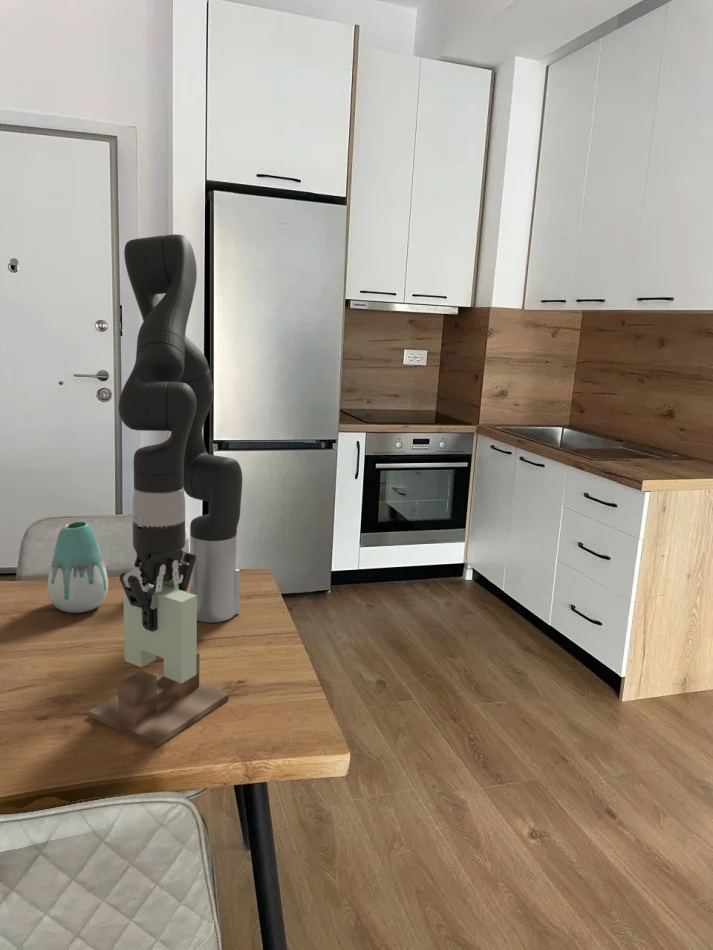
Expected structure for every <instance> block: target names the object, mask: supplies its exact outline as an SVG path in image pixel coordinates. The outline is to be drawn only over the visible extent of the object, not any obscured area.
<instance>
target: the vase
mask: <svg viewBox="0 0 713 950" xmlns="http://www.w3.org/2000/svg"><path fill="white" fill-rule="evenodd" d="M55 541H56V542H55V548H54V551H53V556H52V559H51V562H50V563H51V564H50V568H49V572H48V579H47V587H46V588H47V595H48V597H49V599H50V601H51V603H52V604H53V606H54V607H55V608H57V609H58V610H60V611H62V612H64V613H69V614H70V613H71V614H81V613H85V612H90V611H92V610H94V609H96V608H98V607H99V606H100V605H101V604H102V603H103V602H104V600H105V599H106V596H107V594H108V590H109V577H108V572H107V569H106V565H105V561H104V559H103V556H102V553H101V549H100V546H99V542H98V538H97V536H96V533H95V531H94V529H93V528H92V526H91V525H90V523H89V522H88V521H87V520H75V521H72V522H69V523H66V524H65V525H63V527H61V528H60V531H59V532H58V535H57V538H56V540H55Z"/></svg>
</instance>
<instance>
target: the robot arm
mask: <svg viewBox="0 0 713 950" xmlns="http://www.w3.org/2000/svg"><path fill="white" fill-rule="evenodd" d="M123 251H124V253H123V255H124V263H125V269H126V272H127V275H128V276H127V277H128V280H129V281H130V282H129V283H130V285H131V289H132V292H133V295H134V297H135V301H136V303H137V306H138V309H139V313H140V314H141V318H142V320H143V321H142V323H141V324H140V325H141V326H140V328H139V330H138V335H137V340H136V351H135V352H136V356H135V363H134V365H133V368H132V370H131V373H130V375H129V376H128V378H127V380H126V382H125V384H124V386H123V388H122V390H121V393H120V396H119V401H118V413H119V418H120V419H121V421H122V423H123V424H124V425H125V426H126V427H127V428H129V429H130V430H133V431H143V432H144V431H146V432H147V431H149V432H150V431H151V432H156V431H158V432H167V431H168V432H170V436H169V437H168V438H167V439H166V440H165V441H163V442H161V443H157V444H151V445H146V446H143V447H140V448H138V449H137V450H136V451H135V452H134V454H133V493H132V494H133V496H132V512H131V513H132V547H133V549H134V551H135V553H136V558H135V561H134V565H133V568H132V569H131V570H130V571H129V572H127V573H125V572H122V573H120V575H119V580H120V583H121V586H122V589H123V588H124V591H125V593H126V595H127V598H128V600H129V602H130V605H132V606H136V607H139V608H141V609H142V625H143V627H144V628H145V629H146V630H149V631H152V632H154V631H156V630H157V629H158V621H157V608H156V606H157V600H158V594H159V593H161V590H162V585H165V586H169V587H170V588H175V589H178V590H181V591H185V592H187V591H188V588H189V593H191V594H194V595H197V621H198V622H202V623H220V622H225V621H228V620H230V619H232V618H233V617H235V616H236V615H238V614H240V607H241V606H240V604H241V601H240V599H241V594H240V593H241V570H240V569H239V568H237V551H238V549H237V543H238V541H237V539H238V526H239V522H240V518H241V517H240V516H241V507H242V506H241V504H242V493H243V492H242V491H243V472H242V467H241V465H240V463H239V462H238V460H236V459H234V458H232V457H228V456H220V455H215V454H209V453H208V452H207V451H208V450H207V449H206V445H205V441H204V435H203V428H204V424H205V421H206V419H207V417H208V414H209V412H210V409H211V407H212V404H213V401H214V396H215V395H214V394H215V393H214V385H213V380H212V377H211V373H210V372H211V371H210V367H209V363H208V360H207V358H206V356H205V355H204V353H203V352H202V350H201V349H200V348H199V347H198V346H197V345H196V344H195V343H194V342H193V341H192V340H191V339H190V338H189V337H188V336H187V335H186V332H187V331H186V330H187V325H188V322H189V321H188V320H189V317H190V313H191V308H192V304H193V301H194V300H193V299H194V294H195V290H196V286H197V276H198V274H197V271H198V270H197V261H196V257H195V256H196V255H195V253H194V249H193V246H192V244H191V242H190V240H189V238H188V237H186V236H185V235H182V234H174V233H173V234H164V235H157V236H148V237H142V238H141V237H140V238H134V239H130V240H128V241H127V242H126V243H125V245H124V250H123ZM163 294H164V295H163ZM158 295H163V297H162V298H161V299H159V296H158ZM185 493H186V495H188V497H190V498H192V499H195V500H200V501H204V502H209V503H210V504H211V505H210V511H209V513H208V514H202V515H200V516H197V517H195V518H193V519H192V520H191V522H190V524H189V525H190V526H189V534H190V535H189V553H187V552H183V551H182V548H183V547H184V546H185V534H186V498H185V497H186V496H185ZM181 575H183V579H182V583H180V577H181ZM149 584H151V585H154V587H153V586H150V585H149ZM148 593H150V599H148Z"/></svg>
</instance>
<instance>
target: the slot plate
mask: <svg viewBox="0 0 713 950" xmlns="http://www.w3.org/2000/svg"><path fill="white" fill-rule="evenodd" d="M117 693H118V694H117V695H115V696H113V697H111V698H109V699H107V700H105V701H103V702H102V703H100V704H98V705H96V706H95V707H92V708H91V709H89V710H88V717H89V718H90V719H93V720H94V721H97V722H100V724H104V725H106V726H108V727H110V728H112V729H115V730H116V731H119V732H121V733H123V734H126V735H127V736H129V737H132V738H134V739H136V740H138V741H140V742H142V743H145V744H147V745H149V746H151V747H153V748H155V749H156V748H158V747H160V746H161V745H162V744H164V743H166V742H167V741H168V740H169V739H172V738H173V737H174V736H176V735H177V734H179V733H180V732H182V731H183V730H185V729H186V728H188V727H189V726H191V725H193V724H194V723H195V722H197V721H198V720H200V719H201V718H203V717H205V716H206V715H207V714H209V713H211V712H212V711H214V710H216V708H218V707H220V706H222V704H225V703H226V702H227V701H228V700H229V698H230V697H229V696H230V694H229V693H228V692H225V691H222V690H221V689H217V688H215V687H212V686H209V685H207V684H204V683H202V682H200V652H198V651H196V675H195V676H194V677H192V678H190V679H188V680H187V681H185V682H183V683H182V684H181V683H179V682H176V681H174V680H171V679H169V678H166V677H164V669H163V670H161V671H159V672H157V673H155V674H152V673H149V672H147V671H144V670H140V671H138V672H136V673H134V674H132V675H130V676H128V677H126V678H124V679H122V680H121V681H118V682H117Z"/></svg>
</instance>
